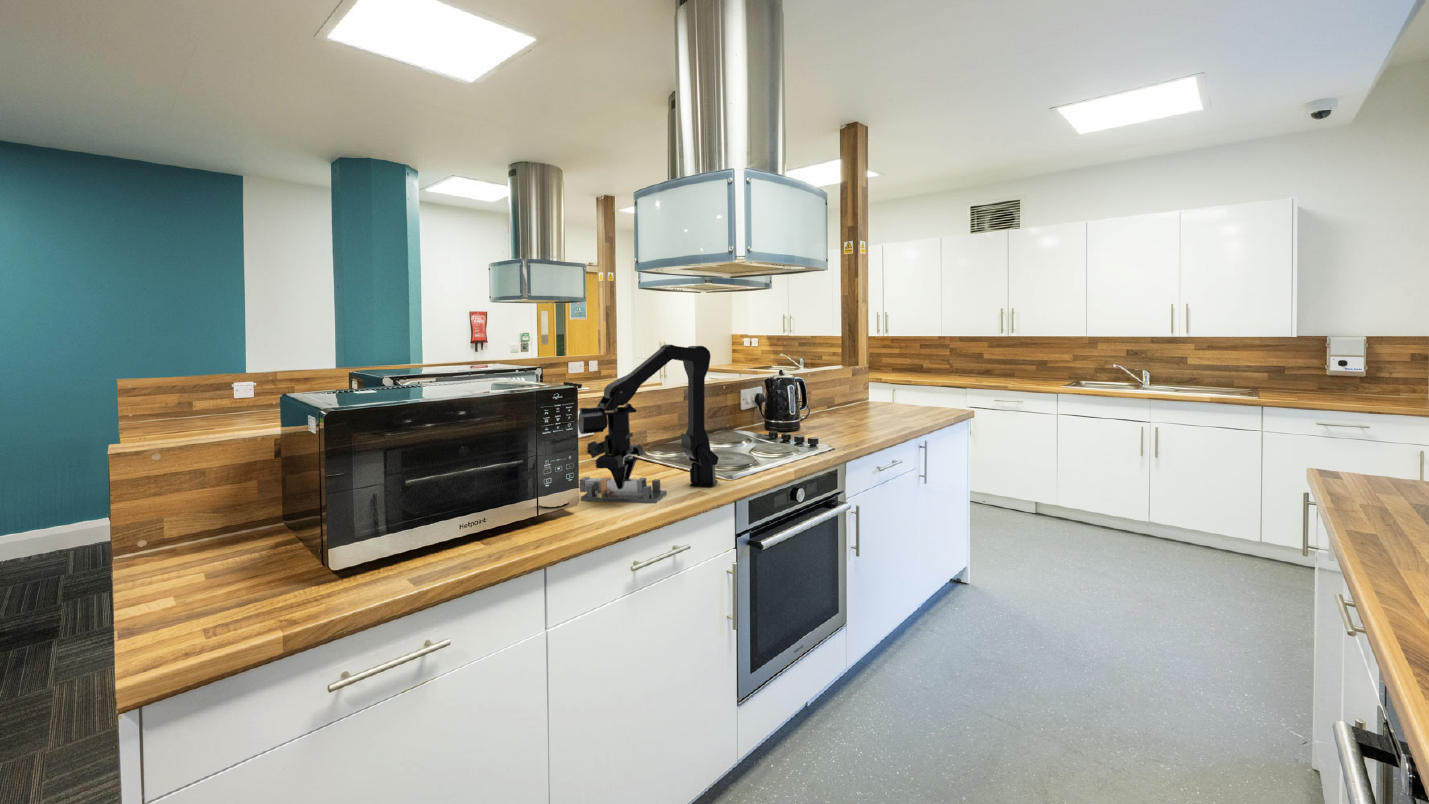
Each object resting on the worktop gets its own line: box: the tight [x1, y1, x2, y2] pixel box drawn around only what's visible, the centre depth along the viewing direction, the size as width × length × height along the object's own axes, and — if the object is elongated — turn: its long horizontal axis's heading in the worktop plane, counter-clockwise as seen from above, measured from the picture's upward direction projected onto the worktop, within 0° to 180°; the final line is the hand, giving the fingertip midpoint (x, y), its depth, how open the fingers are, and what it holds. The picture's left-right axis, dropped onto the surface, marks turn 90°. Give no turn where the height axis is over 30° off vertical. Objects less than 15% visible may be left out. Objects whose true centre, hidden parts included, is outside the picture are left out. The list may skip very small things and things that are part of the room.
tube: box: [579, 476, 648, 493], centre depth 162 cm, size 18×3×3 cm, turn 76°
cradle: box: [580, 478, 667, 504], centre depth 161 cm, size 21×9×4 cm, turn 76°
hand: (622, 487), depth 161 cm, fingers closed on tube, 3 cm apart
